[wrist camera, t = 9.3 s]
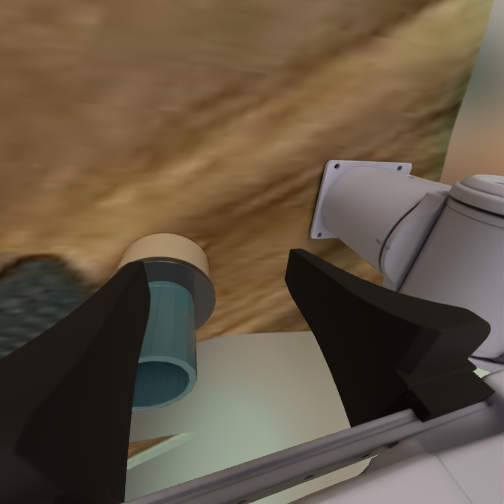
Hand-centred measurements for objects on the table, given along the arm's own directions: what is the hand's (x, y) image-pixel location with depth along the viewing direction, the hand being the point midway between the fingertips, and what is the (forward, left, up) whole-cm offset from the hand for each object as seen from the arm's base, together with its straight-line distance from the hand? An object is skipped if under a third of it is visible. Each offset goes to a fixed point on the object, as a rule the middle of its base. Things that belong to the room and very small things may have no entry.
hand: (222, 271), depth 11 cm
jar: (+4, +7, -10) cm, 13 cm away
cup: (+4, +7, -5) cm, 10 cm away
